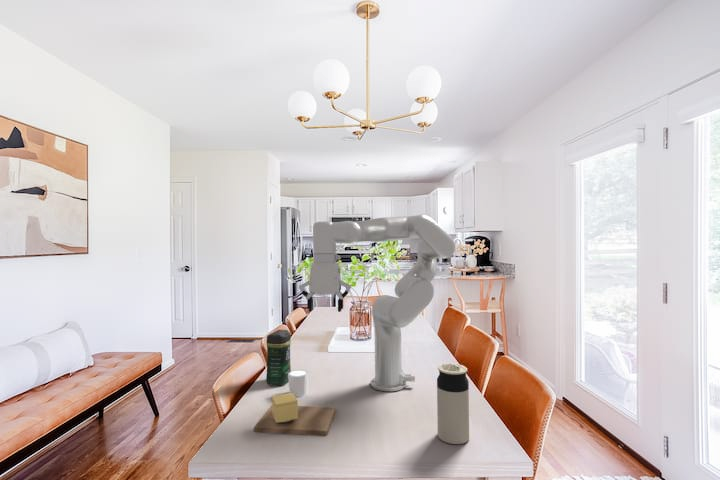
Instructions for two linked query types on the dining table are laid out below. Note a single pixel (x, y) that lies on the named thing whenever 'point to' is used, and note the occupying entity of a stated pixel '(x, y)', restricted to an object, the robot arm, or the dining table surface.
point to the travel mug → (453, 403)
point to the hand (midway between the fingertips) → (325, 310)
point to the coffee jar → (278, 357)
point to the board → (299, 421)
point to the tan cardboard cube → (284, 407)
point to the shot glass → (298, 382)
